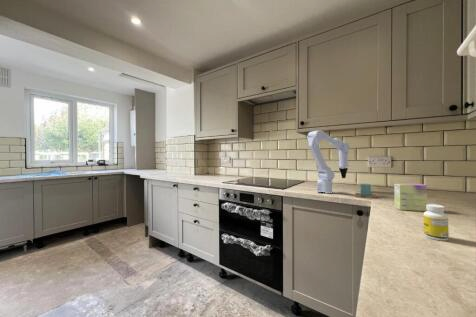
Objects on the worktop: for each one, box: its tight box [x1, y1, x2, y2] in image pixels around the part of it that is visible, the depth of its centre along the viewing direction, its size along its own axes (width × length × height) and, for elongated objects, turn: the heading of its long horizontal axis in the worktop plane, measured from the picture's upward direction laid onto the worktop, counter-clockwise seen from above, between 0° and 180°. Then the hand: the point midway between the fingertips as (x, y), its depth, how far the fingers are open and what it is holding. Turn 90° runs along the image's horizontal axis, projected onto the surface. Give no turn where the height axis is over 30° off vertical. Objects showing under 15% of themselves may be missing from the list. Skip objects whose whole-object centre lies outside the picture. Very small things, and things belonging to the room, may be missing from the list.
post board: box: [354, 192, 378, 200], centre depth 126 cm, size 11×11×5 cm
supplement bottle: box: [423, 203, 450, 242], centre depth 62 cm, size 5×5×10 cm
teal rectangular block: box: [360, 183, 372, 196], centre depth 126 cm, size 5×5×7 cm
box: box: [393, 182, 428, 212], centre depth 94 cm, size 10×6×12 cm, turn 74°
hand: (343, 178), depth 146 cm, fingers closed
